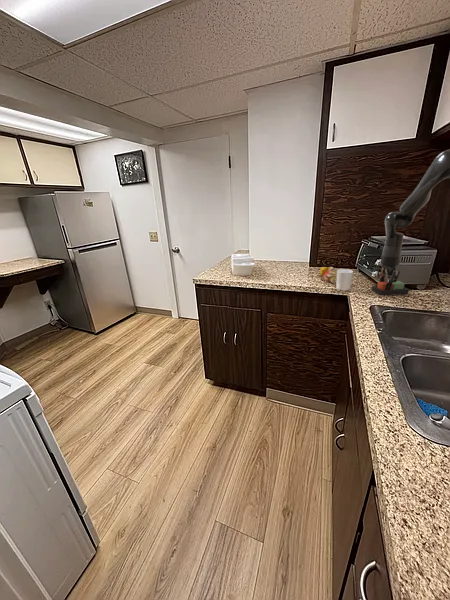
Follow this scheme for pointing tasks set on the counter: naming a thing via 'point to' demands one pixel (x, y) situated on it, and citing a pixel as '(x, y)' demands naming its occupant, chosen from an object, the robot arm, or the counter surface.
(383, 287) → the orange block
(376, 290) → the dark grey tray
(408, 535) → the counter surface
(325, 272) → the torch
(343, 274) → the white cup
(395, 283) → the green block
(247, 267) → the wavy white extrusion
